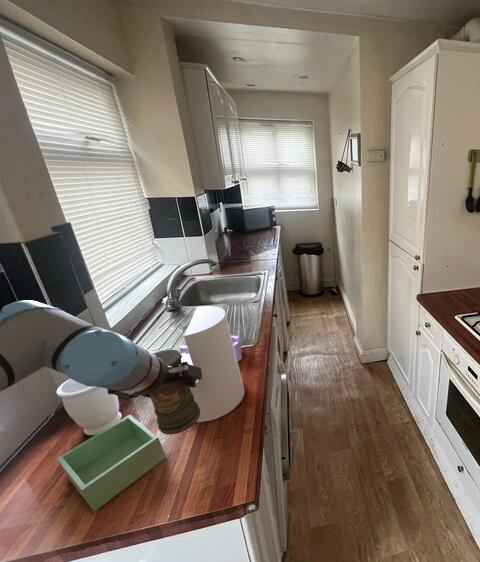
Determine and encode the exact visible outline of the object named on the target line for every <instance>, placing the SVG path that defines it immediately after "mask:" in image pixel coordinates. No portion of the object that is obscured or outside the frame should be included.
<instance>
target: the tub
mask: <svg viewBox="0 0 480 562" xmlns="http://www.w3.org/2000/svg"><path fill="white" fill-rule="evenodd" d="M166 458H167V455H166V453H165V451H164V448H163V446H162V443H161V441H160V438H159V436H157V435H156V434H155V433H153V431H151V430H150V429H148V428H147V427H146V426H145V425H144V424H143V423H142V422H140V421H139V420H137V419H136V418H135V417H134V416H133V415H131V414H128V415H127V416H125V417H123V418H121V419H120V421H118V422H117V423H115V424H113V425H112V426H110V427H108V428H107V429H105V430H103V431H102V432H100V433H98V434H96V435H92V437H90V438H89V439H87V440H85V441H83V442H82V443H80V444H79V445H76V446H75V447H73V448H71V449H70V450H68V451H67V452H65V453H63V454H61V455H60V456H58V457H56V460H57V462H58V463H59V465H60V467H61V469H62V470H63V472H64V474H65V475H66V477H67V478H68V480H69V481H70V482H71V484H72V486H74V488H75V489H76V490H77V491H78V493H79V494H80V495H81V497H82V498H83V499H84V501H85V502H86V503H87V505H88V506H89V507H90V508H91V510H92V511H93V512H96V511H97V510H98V509H99V508H102V507H103V506H104V505H105V504H107V503H108V502H109V501H111V500H112V499H113V498H114V497H116V496H117V495H118V494H119V493H121V492H123V490H126V488H127V487H129V486H130V485H132V484H133V483H134V482H136V481H137V480H138V479H139V478H141V477H143V476H144V475H145V474H147V472H149V471H150V470H151V469H153V468H154V467H155V466H157V465H158V464H159V463H160V462H162V461H163V460H165V459H166Z"/></svg>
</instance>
